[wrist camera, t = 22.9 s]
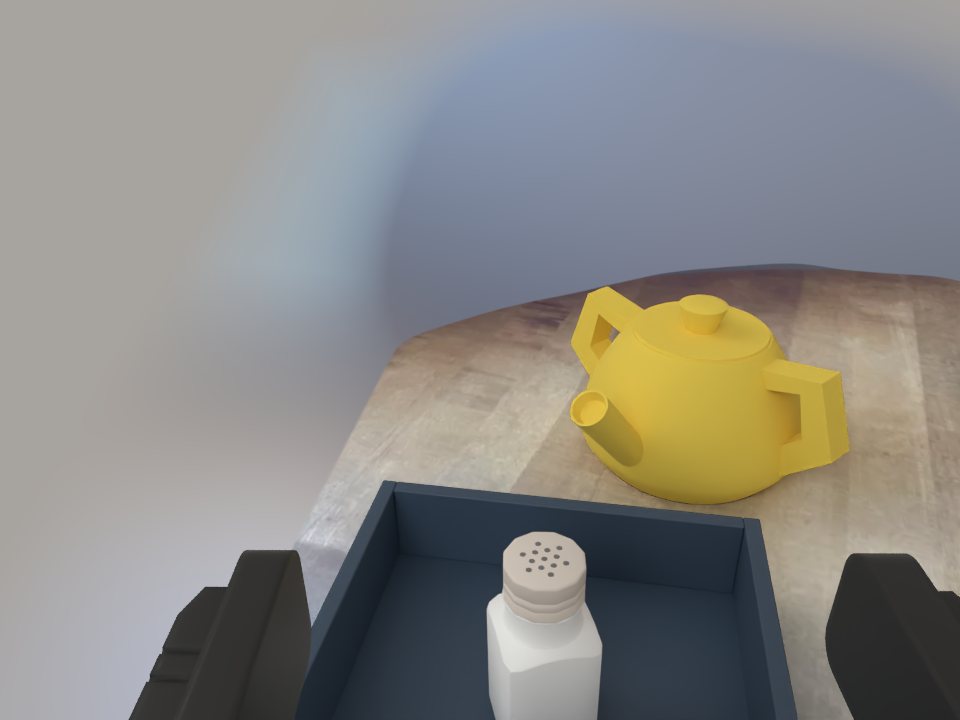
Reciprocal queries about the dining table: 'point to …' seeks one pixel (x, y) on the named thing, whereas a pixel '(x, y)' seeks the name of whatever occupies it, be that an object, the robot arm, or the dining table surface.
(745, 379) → the teapot
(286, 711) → the robot arm
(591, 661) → the salt shaker
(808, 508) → the dining table surface
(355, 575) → the tray
